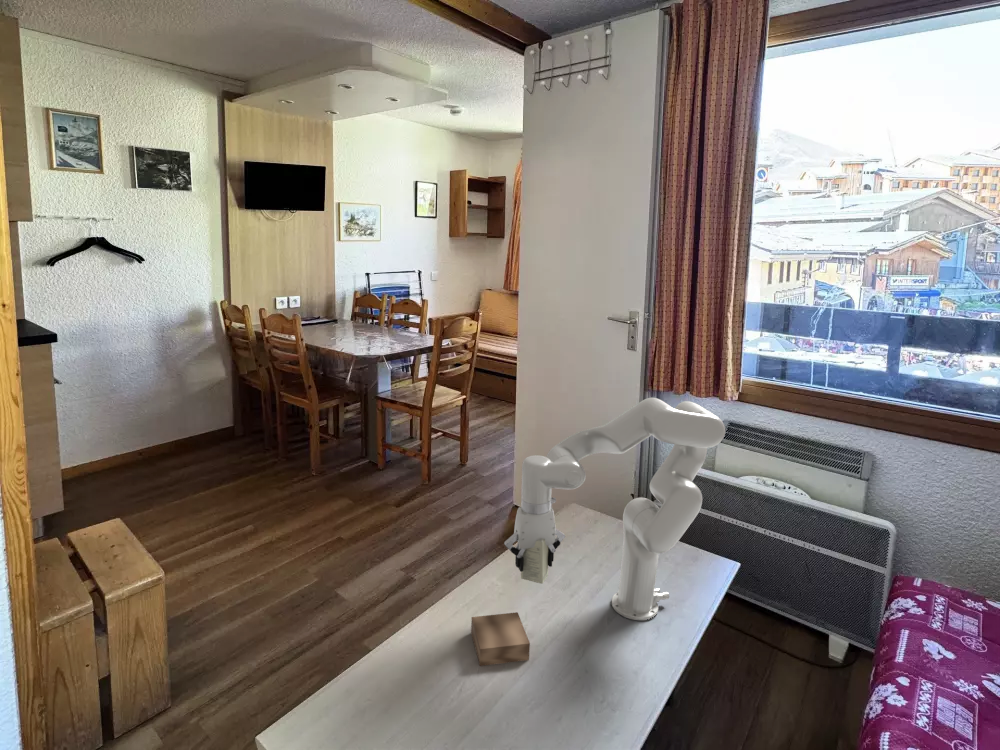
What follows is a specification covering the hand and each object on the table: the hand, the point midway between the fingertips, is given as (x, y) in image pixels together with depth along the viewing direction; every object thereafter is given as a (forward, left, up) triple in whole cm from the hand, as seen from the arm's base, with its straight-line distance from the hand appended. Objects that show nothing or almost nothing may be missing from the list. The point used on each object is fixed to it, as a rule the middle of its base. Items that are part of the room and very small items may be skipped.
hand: (534, 565), depth 160 cm
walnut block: (+12, +9, -16) cm, 21 cm away
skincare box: (0, 0, -4) cm, 4 cm away
